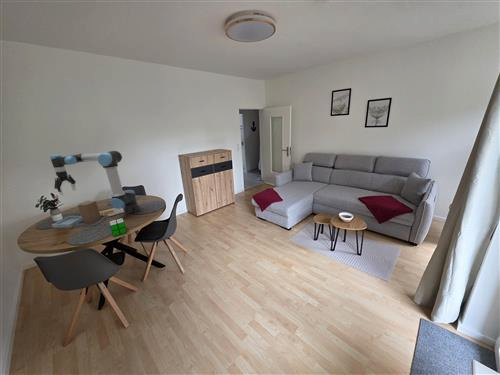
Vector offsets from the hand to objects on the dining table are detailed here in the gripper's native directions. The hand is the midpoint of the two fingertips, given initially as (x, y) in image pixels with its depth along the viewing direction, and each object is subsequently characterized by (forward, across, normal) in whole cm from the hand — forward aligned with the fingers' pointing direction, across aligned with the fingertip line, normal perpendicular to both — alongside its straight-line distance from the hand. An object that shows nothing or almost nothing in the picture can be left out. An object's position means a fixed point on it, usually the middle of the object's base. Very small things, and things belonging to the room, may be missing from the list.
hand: (68, 192), depth 192 cm
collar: (+28, +9, +23) cm, 37 cm away
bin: (+28, +10, +2) cm, 30 cm away
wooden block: (+28, +9, +23) cm, 38 cm away
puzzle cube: (+28, +31, +64) cm, 77 cm away
